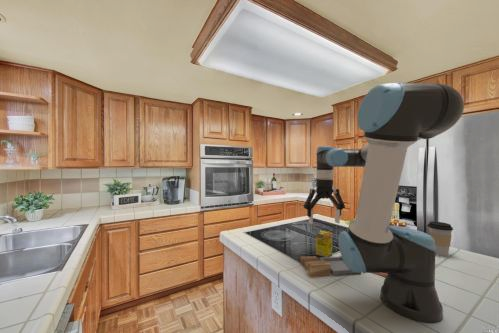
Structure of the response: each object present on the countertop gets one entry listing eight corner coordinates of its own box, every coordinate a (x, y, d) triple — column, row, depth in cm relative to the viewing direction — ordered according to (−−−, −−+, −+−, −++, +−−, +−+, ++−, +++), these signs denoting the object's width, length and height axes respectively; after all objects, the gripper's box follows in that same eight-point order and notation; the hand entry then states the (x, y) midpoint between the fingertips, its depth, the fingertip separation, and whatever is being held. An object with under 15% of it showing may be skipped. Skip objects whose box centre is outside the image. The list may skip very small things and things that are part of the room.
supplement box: (328, 259, 96) (328, 235, 96) (315, 256, 99) (315, 233, 99) (332, 255, 100) (332, 232, 100) (319, 252, 104) (320, 230, 104)
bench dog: (330, 275, 81) (330, 264, 81) (311, 277, 80) (311, 265, 80) (326, 271, 84) (326, 260, 84) (307, 273, 83) (307, 262, 83)
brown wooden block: (324, 271, 85) (324, 264, 85) (307, 272, 84) (307, 265, 84) (315, 262, 93) (315, 256, 93) (300, 263, 92) (300, 256, 92)
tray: (361, 273, 83) (361, 268, 83) (333, 276, 81) (333, 271, 81) (343, 260, 95) (343, 256, 95) (318, 262, 93) (318, 257, 93)
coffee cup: (458, 259, 98) (458, 226, 98) (435, 257, 99) (435, 225, 99) (444, 251, 107) (444, 221, 107) (422, 249, 109) (423, 220, 109)
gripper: (343, 178, 106) (343, 220, 106) (296, 178, 102) (296, 221, 102) (353, 179, 98) (352, 224, 98) (303, 179, 94) (302, 226, 94)
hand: (324, 223), depth 100 cm, fingers open, 13 cm apart
